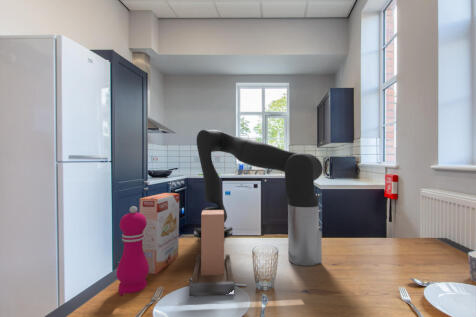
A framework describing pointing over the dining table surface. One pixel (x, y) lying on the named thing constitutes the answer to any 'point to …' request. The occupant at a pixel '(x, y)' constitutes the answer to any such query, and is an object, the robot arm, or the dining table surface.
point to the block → (212, 242)
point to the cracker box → (160, 229)
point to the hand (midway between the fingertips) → (213, 240)
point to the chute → (211, 281)
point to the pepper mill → (132, 253)
